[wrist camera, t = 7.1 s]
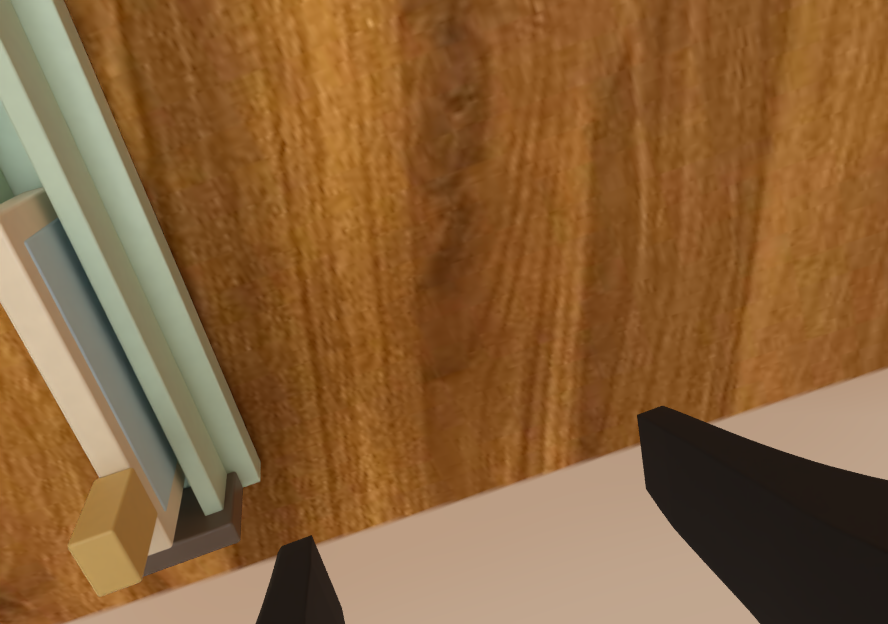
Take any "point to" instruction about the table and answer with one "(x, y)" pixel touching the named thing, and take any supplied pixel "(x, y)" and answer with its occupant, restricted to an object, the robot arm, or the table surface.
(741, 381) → the table surface
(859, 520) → the robot arm
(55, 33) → the green sliding track
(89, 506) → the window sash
